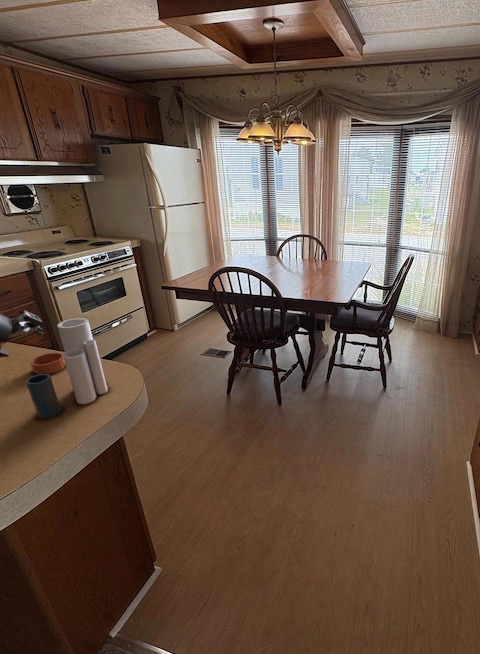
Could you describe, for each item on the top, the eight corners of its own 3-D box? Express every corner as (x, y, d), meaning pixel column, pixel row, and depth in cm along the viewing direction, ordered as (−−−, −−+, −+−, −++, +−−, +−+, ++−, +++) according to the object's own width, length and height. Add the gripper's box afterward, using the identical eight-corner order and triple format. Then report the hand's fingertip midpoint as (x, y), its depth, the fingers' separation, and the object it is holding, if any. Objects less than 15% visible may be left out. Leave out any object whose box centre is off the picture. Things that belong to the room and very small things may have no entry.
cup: (39, 421, 83) (26, 386, 79) (37, 411, 86) (25, 377, 83) (62, 413, 86) (51, 379, 82) (59, 404, 89) (48, 371, 85)
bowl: (42, 378, 100) (39, 367, 99) (28, 370, 104) (24, 360, 102) (71, 366, 107) (68, 356, 106) (57, 359, 110) (54, 350, 109)
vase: (75, 385, 97) (56, 321, 90) (104, 378, 101) (89, 316, 94) (77, 406, 89) (56, 337, 81) (109, 397, 93) (92, 330, 85)
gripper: (1, 291, 75) (41, 314, 90) (-71, 333, 70) (-16, 350, 85) (23, 316, 75) (59, 335, 90) (-48, 359, 69) (3, 372, 84)
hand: (23, 342), depth 87 cm, fingers open, 8 cm apart
